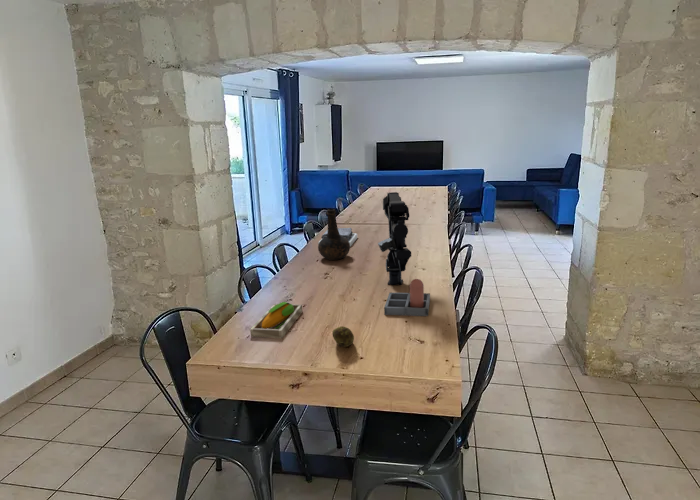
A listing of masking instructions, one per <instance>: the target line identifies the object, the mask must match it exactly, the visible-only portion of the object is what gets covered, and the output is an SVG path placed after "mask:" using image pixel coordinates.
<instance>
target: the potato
mask: <svg viewBox="0 0 700 500" xmlns="http://www.w3.org/2000/svg"><path fill="white" fill-rule="evenodd" d="M353 333H354V332H353V331H352V330H351V329H350V328H348V327H347V326H338V327H336V328H334V329H333V330H332V337H333V340H334V341H335V343H336V344H337V346H338V347H344V348H347V347H349V346H350V345H352V344H353V343H354V340H355V336H354V334H353Z"/></svg>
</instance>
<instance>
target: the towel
mask: <svg viewBox="0 0 700 500" xmlns="http://www.w3.org/2000/svg"><path fill="white" fill-rule="evenodd" d="M337 228H338V227H337ZM352 230H353V229H352V227H342V228H341V227H340V228H338V231H339V234H340V235H341V236H342V237H344V238H346V239H347V240H348V241H350V240H351V238H352V235H353V234H352V233H353V231H352ZM327 233H328V229H327V230H325V232H324V233H323V234H322V235H321V239H323V238H325V237H326V236H327Z"/></svg>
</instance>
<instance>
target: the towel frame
mask: <svg viewBox="0 0 700 500" xmlns="http://www.w3.org/2000/svg"><path fill="white" fill-rule="evenodd" d="M352 234H353V235H352V238H351V240H350V241H349V243H350V248H351V247H352V245H353V244H354V243H355V241H357V239H358V233H355V232H354V233H352ZM321 240H322V238H321V239H320V240H319V241H318V242H317V244H318V245H319V242H320V241H321Z"/></svg>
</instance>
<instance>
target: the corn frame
mask: <svg viewBox="0 0 700 500" xmlns="http://www.w3.org/2000/svg"><path fill="white" fill-rule="evenodd" d="M277 304H278V303H273V304H272V306H271V307H270V308H269V309H268V310H267V311H266V312H265V313H264V314H263V315H262V316H261V317H260V318H259V319H258V320H257V322H256V323H255V324H254V325H253V326H252V327H251V328H250V329H249V331H250V337H251V338H252V337H253V338H267V339H268V338H270V339H283V338H284V336H285V335H286V334H287V333H288V331H289V330H290V328H291V327H292V326H293V325H294V323H295V322H296V320H298V318H299V316H301V314H302V313H303V305H302V304H294V303H293V304H292V303H291V304H292V305H293V307H294V312H293V313H292V315H290V317H289V318H287V319H288V320H287V319H286V320H287V321H286V322H285V323H284V324H283V325H282V326H281V327H279V328H278V329H275V328H267V329H264V328H262V322H263V320H264V319H265V317H266V316H267V315H268V314H269V313H270V312H269V311H270V309H271V308H273V307H274V306H276V305H277Z"/></svg>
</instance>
